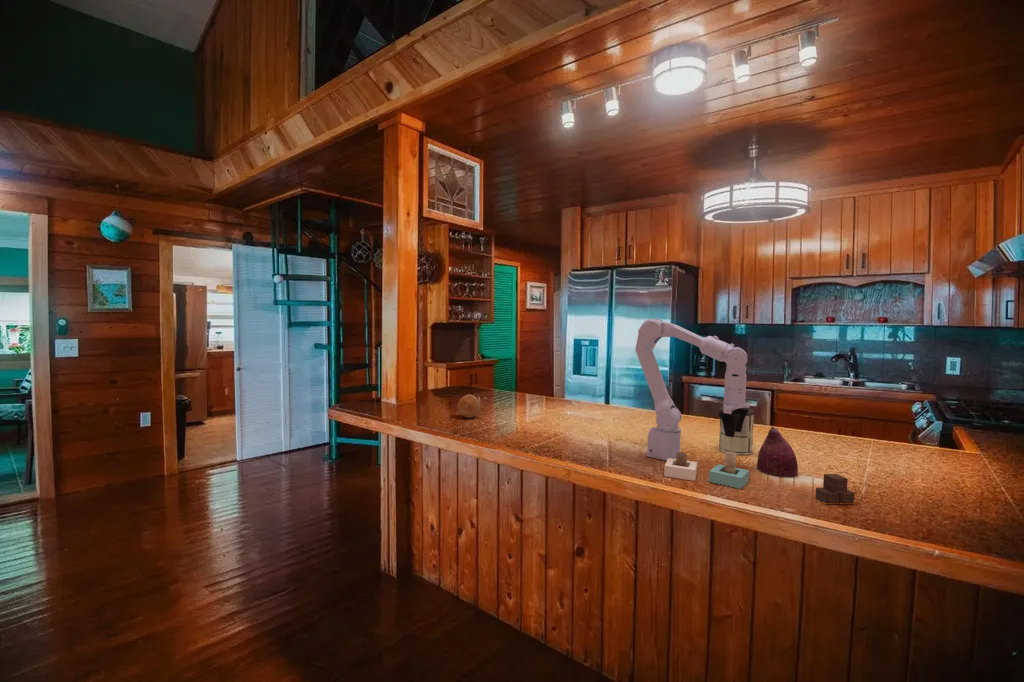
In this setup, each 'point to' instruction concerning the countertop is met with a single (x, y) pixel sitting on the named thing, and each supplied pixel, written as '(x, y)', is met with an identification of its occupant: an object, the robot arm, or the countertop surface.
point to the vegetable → (777, 456)
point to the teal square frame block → (729, 477)
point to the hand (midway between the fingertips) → (733, 434)
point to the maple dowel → (730, 462)
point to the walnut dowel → (681, 459)
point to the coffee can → (738, 437)
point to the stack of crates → (834, 490)
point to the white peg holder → (680, 470)
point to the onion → (469, 406)
